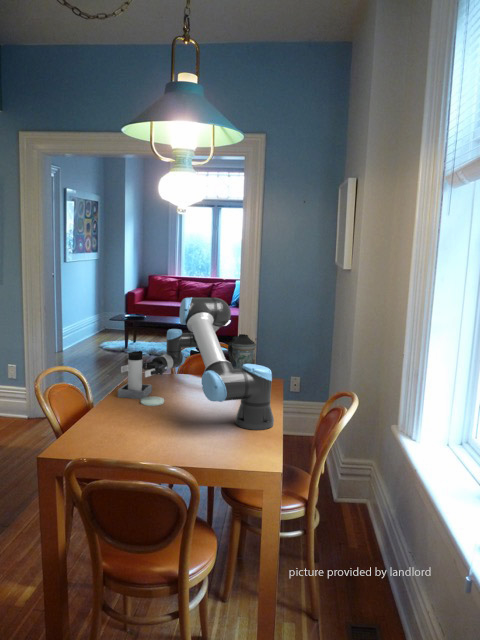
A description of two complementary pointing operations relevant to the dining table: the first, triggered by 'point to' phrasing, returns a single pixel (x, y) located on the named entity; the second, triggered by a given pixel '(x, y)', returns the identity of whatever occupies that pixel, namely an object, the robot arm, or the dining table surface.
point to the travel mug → (135, 371)
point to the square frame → (134, 392)
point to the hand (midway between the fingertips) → (133, 371)
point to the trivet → (152, 401)
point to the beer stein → (241, 351)
